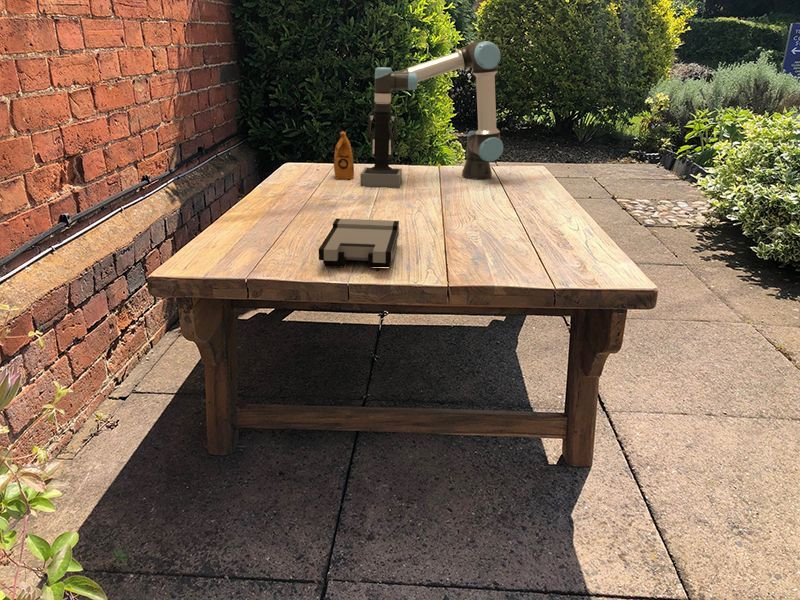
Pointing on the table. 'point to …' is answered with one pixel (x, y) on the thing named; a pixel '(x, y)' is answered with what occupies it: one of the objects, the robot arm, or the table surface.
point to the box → (381, 178)
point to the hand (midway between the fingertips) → (381, 153)
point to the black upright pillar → (381, 142)
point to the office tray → (360, 242)
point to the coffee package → (343, 159)
